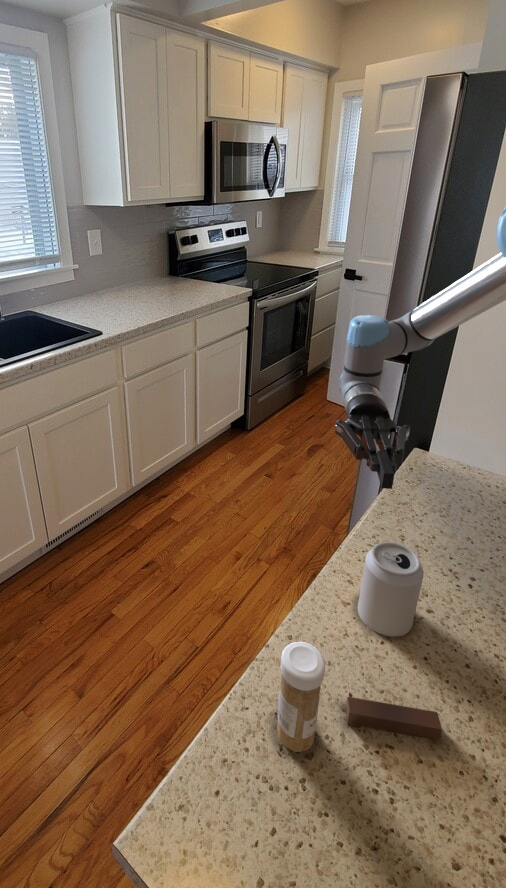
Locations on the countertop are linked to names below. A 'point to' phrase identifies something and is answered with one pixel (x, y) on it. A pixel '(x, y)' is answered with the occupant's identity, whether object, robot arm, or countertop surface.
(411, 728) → the bar
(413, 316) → the robot arm
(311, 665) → the sprinkles bottle
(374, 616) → the can
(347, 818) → the countertop surface
